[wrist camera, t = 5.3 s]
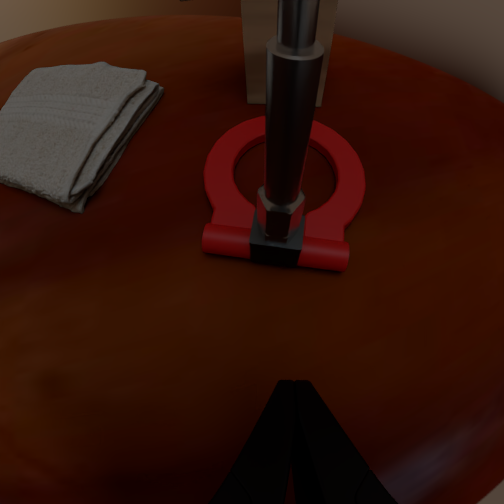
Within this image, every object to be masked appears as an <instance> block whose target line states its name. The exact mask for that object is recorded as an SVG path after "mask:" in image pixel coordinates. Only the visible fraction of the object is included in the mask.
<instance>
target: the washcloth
mask: <svg viewBox="0 0 504 504" xmlns="http://www.w3.org/2000/svg"><path fill="white" fill-rule="evenodd" d="M163 92H164V88H163V87H159V84H158V83H155V82H153V81H150V80H146V71H144V70H136V69H126V68H118V67H114V66H110V65H108V64H107V63H106V62H97V63H95V64H87V65H86V64H85V65H65V66H64V65H61V66H55V67H49V68H37V69H35V70H33V71H31V72H30V73H29V74H28V76H26V77H25V78H24V80H23V81H22V82H21V83H20V84H19V85H18V87H17V88H16V89H15V90H14V91H13V92H12V94H11V96H10V97H9V99H8V101H7V102H6V104H5V105H4V106H3V108H2V109H1V111H0V183H2V184H3V183H4V184H5V185H7V186H10V187H15V188H19V189H21V190H24V191H27V192H29V193H34V194H36V195H38V196H39V197H42V198H46V199H47V200H49V201H52V202H54V203H57V204H58V205H59V207H65V208H68V209H70V210H71V211H72V212H78V213H81V214H82V213H83V212H84V205H85V203H86V200H87V198H88V197H89V196H92V195H93V194H94V193H95V191H96V190H97V189H99V187H100V186H101V185H102V184H103V183H104V181H105V180H106V178H107V177H108V176H109V174H110V172H111V171H112V169H113V168H114V166H115V165H116V163H117V162H118V160H119V158H120V157H121V155H122V153H123V152H124V150H125V148H126V146H127V144H128V143H129V141H130V139H131V138H132V136H133V135H134V134H135V133H136V131H137V130H138V129H139V127H140V126H141V125H142V123H143V122H144V121H145V119H146V117H147V116H148V115H149V113H150V112H151V111H152V109H153V108H154V106H155V105H156V104H157V102H158V101H159V99H160V97H161V96H162V94H163Z"/></svg>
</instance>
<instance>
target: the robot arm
mask: <svg viewBox="0 0 504 504" xmlns="http://www.w3.org/2000/svg"><path fill="white" fill-rule="evenodd" d="M290 464H291V465H292V474H293V483H294V492H295V501H296V504H398V503H397V502H396V501H395V500H394V498H393V497H392V496H391V495H390V494H389V493H388V492H387V490H386V489H385V488H384V487H383V485H382V484H381V483H380V481H379V480H378V479H377V477H376V476H375V474H374V473H373V472H372V470H369V466H368V465H367V463H366V462H365V460H364V459H363V458H362V456H361V455H360V453H359V452H358V450H357V449H356V448H355V446H354V445H353V443H352V442H351V440H350V439H349V438H348V436H347V435H346V433H345V432H344V430H343V429H342V427H341V426H340V425H339V423H338V422H337V420H336V419H335V417H334V416H333V414H332V413H331V411H330V410H329V409H328V407H327V406H326V404H325V403H324V401H323V400H322V398H321V397H320V395H319V394H318V392H317V391H316V389H315V388H314V387H313V385H312V384H311V382H310V381H308V380H296V381H293V380H279V381H278V383H277V385H276V387H275V389H274V391H273V393H272V395H271V397H270V399H269V401H268V402H267V404H266V406H265V408H264V410H263V412H262V414H261V416H260V418H259V420H258V422H257V423H256V425H255V427H254V429H253V431H252V433H251V435H250V436H249V438H248V440H247V442H246V444H245V445H244V447H243V449H242V451H241V453H240V454H239V456H238V458H237V460H236V461H235V463H234V465H233V467H232V468H231V470H230V472H229V473H228V475H227V476H226V478H225V480H224V481H223V483H222V485H221V486H220V488H219V489H218V491H217V492H216V494H215V495H214V497H213V498H212V499H211V501H210V502H209V503H208V504H284V501H285V495H286V489H287V483H288V477H289V471H290Z"/></svg>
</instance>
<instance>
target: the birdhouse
mask: <svg viewBox="0 0 504 504" xmlns="http://www.w3.org/2000/svg"><path fill="white" fill-rule="evenodd" d="M180 1H188V0H180ZM337 4H338V0H320V4H319V13H318V22H317V30H316V38H315V39H316V40H317V41H319V42H320V43H321V44H322V46H323V47H324V56H323V62H322V69H321V75H320V81H319V87H318V94H317V100H316V107H321V102H322V96H323V91H324V85H325V79H326V74H327V68H328V62H329V56H330V50H331V43H332V37H333V31H334V24H335V18H336V11H337ZM277 7H278V0H241V11H242V26H243V41H244V56H245V72H246V87H247V103H248V104H266V43H267V41H268V40H269V39H270V38H272V37H273V36H276V35H277Z"/></svg>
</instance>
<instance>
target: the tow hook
mask: <svg viewBox="0 0 504 504" xmlns="http://www.w3.org/2000/svg"><path fill="white" fill-rule="evenodd" d="M319 4H320V0H278V7H277V35H276V36H273V37H272V38H270V39H269V40H268V41H267V43H266V108H265V116H260V117H257V118H254V119H250V120H247V121H244V122H242V123H240V124H239V125H237V126H235V127H233V128H231V129H230V130H228V131H227V132H226V133H225V134H224V135H223V136H222V137H221V138H219V139H218V140H217V141H216V143H215V144H214V146H213V148H212V149H211V151H210V152H209V154H208V156H207V160H206V164H205V168H204V183H205V191H206V195H207V197H208V200H209V202H210V204H211V207H212V209H213V215H212V219H211V223H207V224H206V225H205V228H204V231H203V236H202V251H203V252H204V253H211V254H218V255H225V256H232V257H239V258H246V259H251V261H253V262H259V263H266V264H273V265H280V266H287V267H296V266H303V267H311V268H318V269H325V270H332V271H340V272H344V271H345V270H346V267H347V264H348V261H349V243H348V242H344V229H345V228H347V227H348V226H349V225H350V223H351V222H352V220H353V219H354V217H355V215H356V214H357V212H358V211H359V209H360V207H361V205H362V202H363V197H364V193H365V189H366V184H365V174H364V169H363V167H362V164H361V162H360V159H359V157H358V155H357V153H356V152H355V151H354V150H353V148H352V147H351V146H350V144H349V143H348V142H347V141H346V140H345V139H344V138H343V137H341V136H340V135H339V134H338V133H336V132H335V131H334V130H333V129H331V128H329V127H327V126H325V125H323V124H321V123H319V122H317V121H314V120H313V117H314V111H315V106H316V100H317V94H318V87H319V81H320V75H321V69H322V62H323V56H324V47H323V46H322V44H321V43H320V42H319V41H317V40H316V39H315V38H316V30H317V22H318V13H319ZM262 142H265V168H264V184H263V185H262V186H261V187H260V188H259V189H258V191H257V209H256V208H255V206H254V205H253V204H251V203H250V202H248V201H247V199H246V198H245V197H244V196H243V195H242V194H241V193H240V192H239V190H238V188H237V186H236V184H235V182H234V177H233V176H234V171H235V166H236V164H237V163H238V161H239V159H240V157H241V156H242V155H243V154H244V153H245V152H246V151H247V150H248V149H250V148H252V147H253V146H255V145H257V144H259V143H262ZM308 146H311V147H313V148H315V149H317V150H318V151H319V152H320V153H321V154H322V155H324V156H325V157H326V159H327V160H328V161H329V163H330V164H331V166H332V168H333V171H334V174H335V176H336V188H335V192H334V193H333V195H332V196H331V198H330V199H329V200H328V201H327V202H326V203H325V204H323V205H322V206H321V207H319V208H318V209H315V210H313V211H310V212H308V213H307V214H306V215H305V216H303V215H302V213H303V209H304V205H305V200H306V198H305V194H304V192H303V190H302V188H301V183H302V178H303V173H304V168H305V162H306V157H307V151H308Z"/></svg>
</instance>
